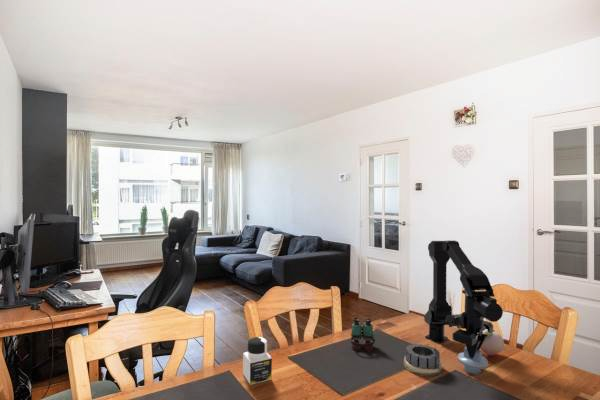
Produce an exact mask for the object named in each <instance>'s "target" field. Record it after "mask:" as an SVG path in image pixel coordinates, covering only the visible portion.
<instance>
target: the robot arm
mask: <svg viewBox="0 0 600 400" xmlns="http://www.w3.org/2000/svg"><path fill="white" fill-rule="evenodd" d="M427 250H428V254H429V255H428V256H429V258H430V259H431V261H432V262H433V263H432V265H433V266H432V267H433V268H432V269H433V271H432V272H433V275H432V276H433V277H432V278H433V280H432V281H433V282H432V285H433V287H432V289H433V290H432V294H433V295H432V296H433V297H432V300H431V301H430V302H429V304H428V309H427V312H426V313H425V314H424V316H423V319H424V320H423V321H424V322H425V323H426V324H427V325H429V326H428V334H427V335H425V338H426V339H428V340H430V341H433V342H437V343H443V342H444V341H446V340H448V336H445V326H448V327H449V328H453V327H460V329H457V330H456V331H453V332H452V337H451V338H452V339H451V340H452V341H454V342H458V343H460V344H464V345H465V347H467V351H468V354H469V357H470V358H473V357H474V355H475V353H476V351H477V350H480V351H481V346H482V344H483V343H484V341H485V339H486V338H487V335H485V334H483V332H482V331H484V330H487V329H488V332H489V333H491V332H492V331H493V330H494V324H492V322H493V323H494V322H498V321H500V320H501V318H502V317H503V313H504V310H503V307H502V306H501V305H500V304H499V303H498V300H497V299H496V298H494V297H495V294H494V289H493V287H492V285H491V283H490V280H489V277H488V276H487V274H486V273H484V271H483V270H482V269H480V268H479V267H476V266H475V265H474V264H473V263H472V262H471V260H470V258H468V256H467V255H466V254H465V252H464V250H463V249H462V247H461V245H460V242H459V241H457V240H430V242H429V243H428V246H427ZM449 260H451V261H452V263H453V264H454V266H455V267H456V270H458V272H459V274H460V275H459V281H460V283H461V285H462V288H463V290H461V292H462V294H464V311H463V312H462V313H460V314H459V313H456V314H452V309H453V308H452V306H451V305H450V303H449V302H448V300H447V263H448V262H449ZM484 319H485V320H484Z"/></svg>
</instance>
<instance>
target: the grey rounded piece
mask: <svg viewBox="0 0 600 400" xmlns="http://www.w3.org/2000/svg"><path fill="white" fill-rule="evenodd" d="M457 360H458V362H459V363H461V364H462V365H463V370H464V371H465V372H466V373H469V374H471V375H480V374H481V373H482V369H485V368H487V367H488V365H489V360H488V359H487V357H485V356H483V351H482V350H481V349H480V350H477V351H476V353H475V355H474V357H473V358H470V357H469V354H468V351H467V347H466V346H465V347H463V352H459V353H458V354H457Z"/></svg>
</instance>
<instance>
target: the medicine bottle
mask: <svg viewBox="0 0 600 400" xmlns="http://www.w3.org/2000/svg"><path fill="white" fill-rule="evenodd" d="M272 362H273V359H272V356H271V355H270V354H269V353H268V341H267V339H266V338H264V337H262V336H261V337H260V336H255V337H254V336H253V337H252V338H250V339H249V340H248V341H247V351H245V352H243V353H242V374H243V375H242V376H244V378H245V379H246V380H247V382H248V384H249V385H250V386H251V385H255V384H259V383H263V382H267V381H271V380H272V372H273V371H272V370H273V369H272V367H273V366H272V364H273V363H272Z"/></svg>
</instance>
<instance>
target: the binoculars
mask: <svg viewBox="0 0 600 400" xmlns="http://www.w3.org/2000/svg"><path fill="white" fill-rule="evenodd" d="M371 322H372V318H370V317H369V318H366V319H365V322H360V319H359V318H358V317H353V323H352V325H351V332H350V337H351V338H350V344H351V349H352V350H353V351H356V352H359V351H360V350H361V348H363V349H364V351H366V352H371V351H373V349H374V347H373V346H374V344H375V342H376V339H375V337H374V327H373V324H372V323H371ZM362 339H363V341H364V343H360V341H361V340H362Z"/></svg>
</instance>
